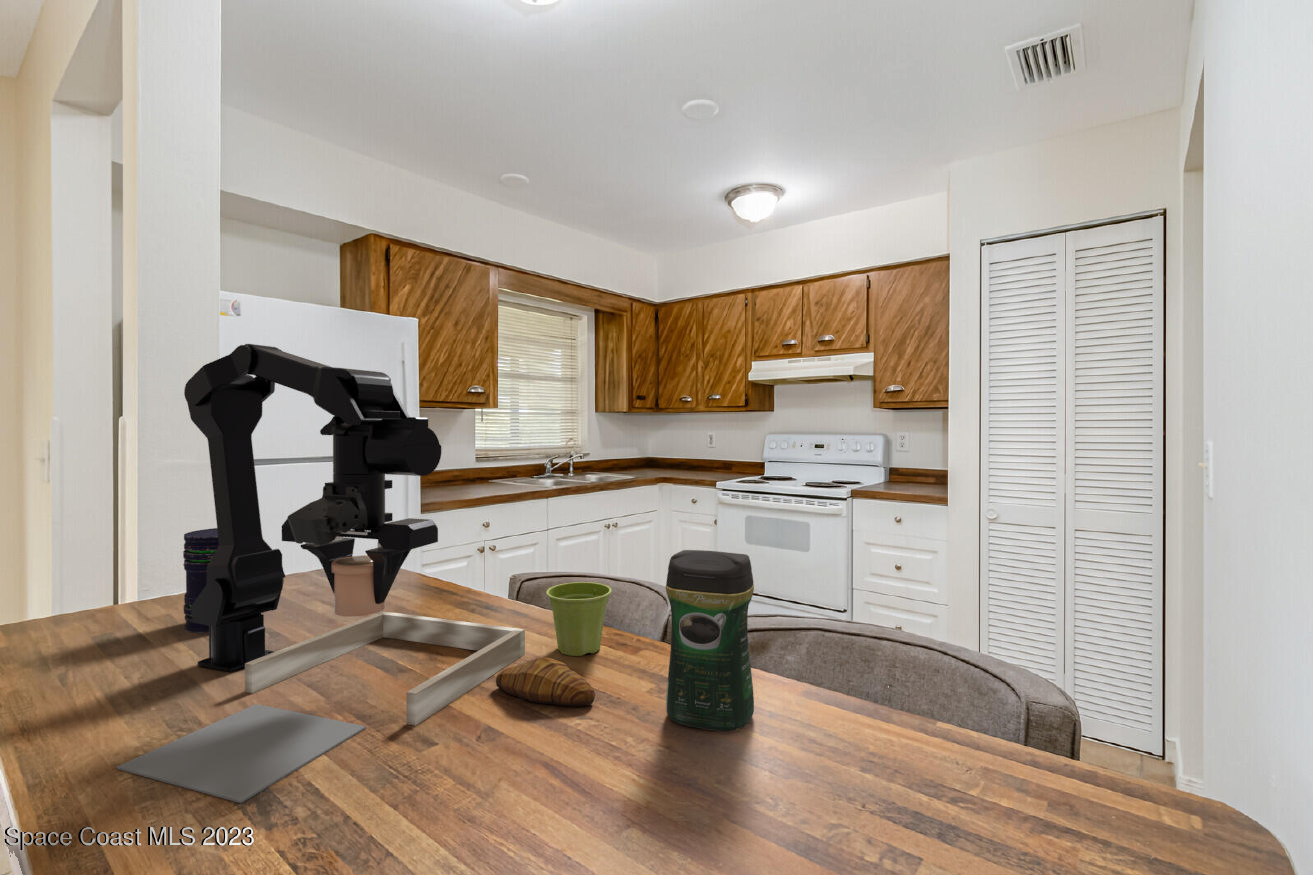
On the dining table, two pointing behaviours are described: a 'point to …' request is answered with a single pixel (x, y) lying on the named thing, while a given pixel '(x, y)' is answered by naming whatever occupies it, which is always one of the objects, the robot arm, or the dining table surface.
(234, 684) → the dining table surface
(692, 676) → the coffee jar
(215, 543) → the storage jar
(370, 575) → the pot
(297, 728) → the grey mat
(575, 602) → the plant pot
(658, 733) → the dining table surface
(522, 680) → the croissant
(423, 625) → the metal u frame
